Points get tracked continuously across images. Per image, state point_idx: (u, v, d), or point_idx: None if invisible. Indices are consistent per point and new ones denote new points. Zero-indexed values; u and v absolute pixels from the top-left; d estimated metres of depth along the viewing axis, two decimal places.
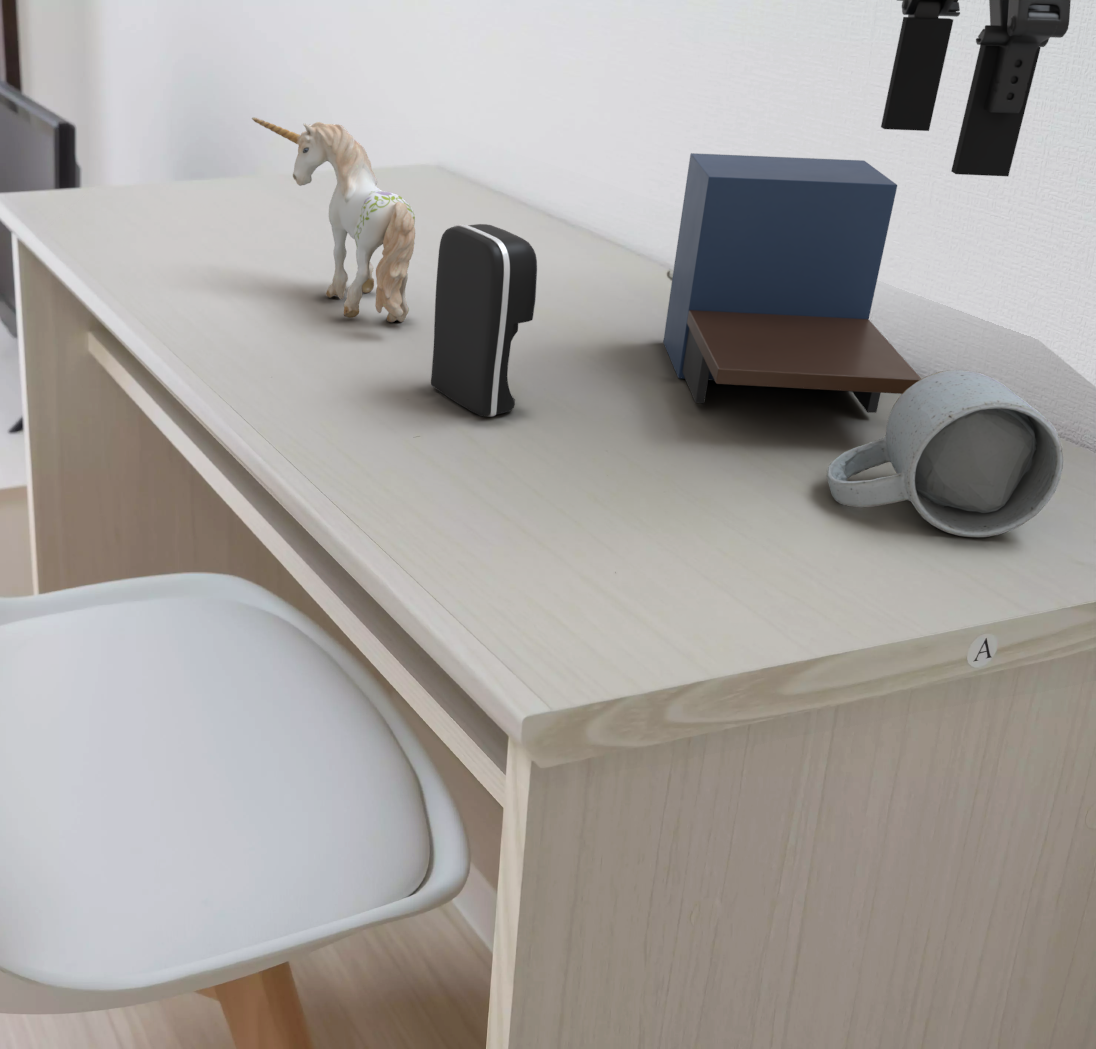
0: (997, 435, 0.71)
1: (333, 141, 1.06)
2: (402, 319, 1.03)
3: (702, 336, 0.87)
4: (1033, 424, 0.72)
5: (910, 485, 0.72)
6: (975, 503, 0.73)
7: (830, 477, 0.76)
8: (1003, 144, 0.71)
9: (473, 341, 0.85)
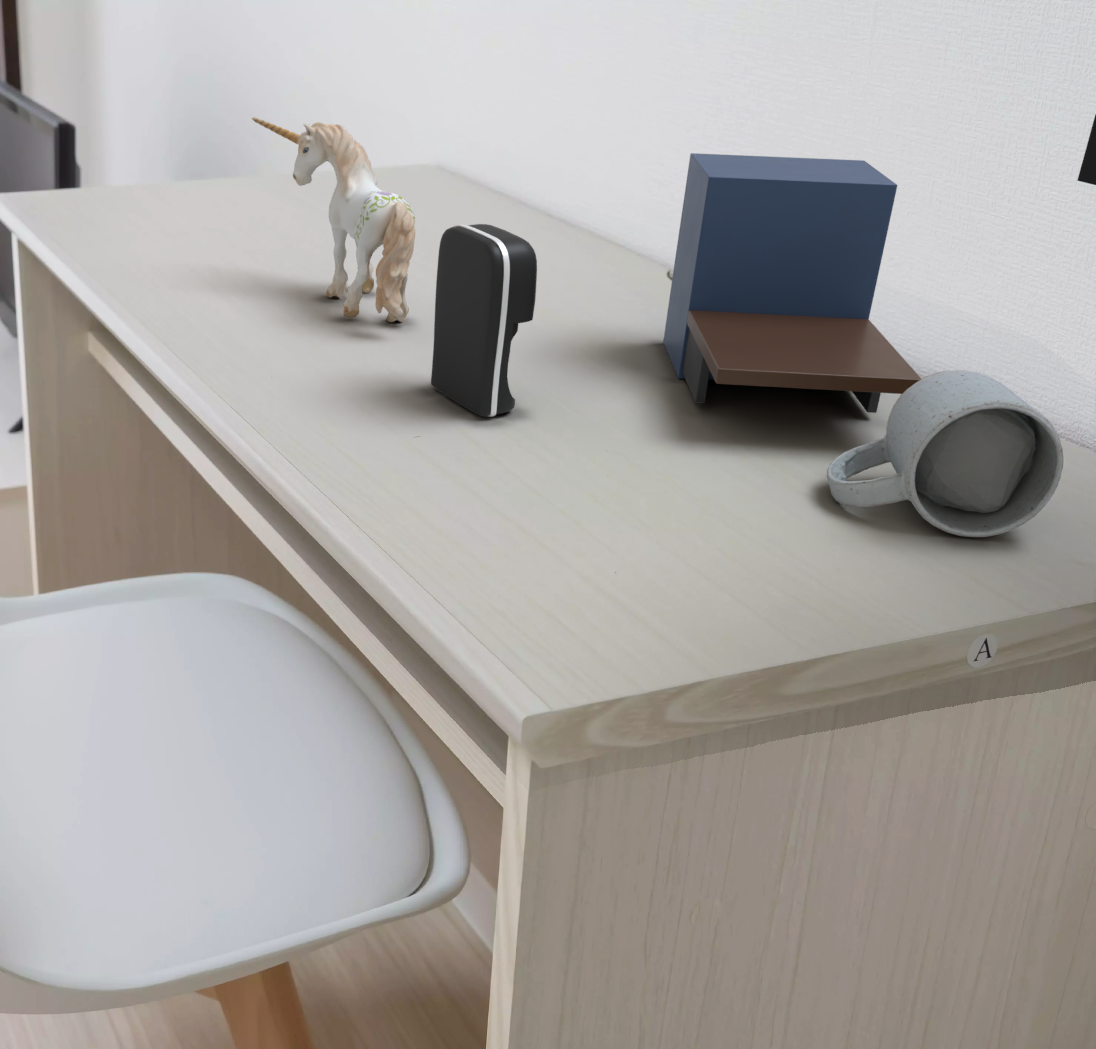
0: (997, 435, 0.71)
1: (333, 141, 1.06)
2: (402, 319, 1.03)
3: (702, 336, 0.87)
4: (1033, 424, 0.72)
5: (910, 485, 0.72)
6: (975, 503, 0.73)
7: (830, 477, 0.76)
8: None
9: (473, 341, 0.85)
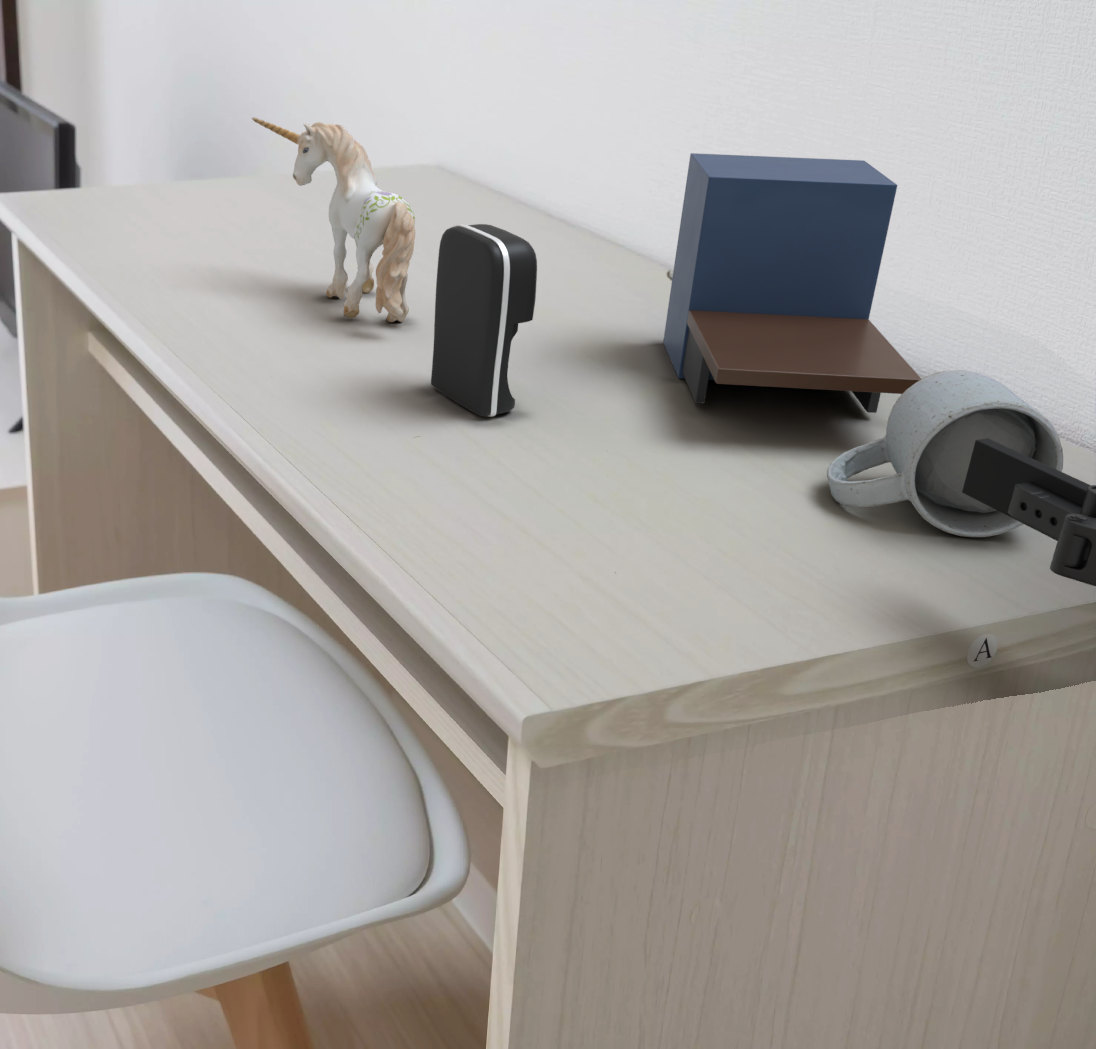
0: (997, 435, 0.71)
1: (333, 141, 1.06)
2: (402, 319, 1.03)
3: (702, 336, 0.87)
4: (1033, 424, 0.72)
5: (910, 485, 0.72)
6: (975, 503, 0.73)
7: (830, 477, 0.76)
8: None
9: (473, 341, 0.85)
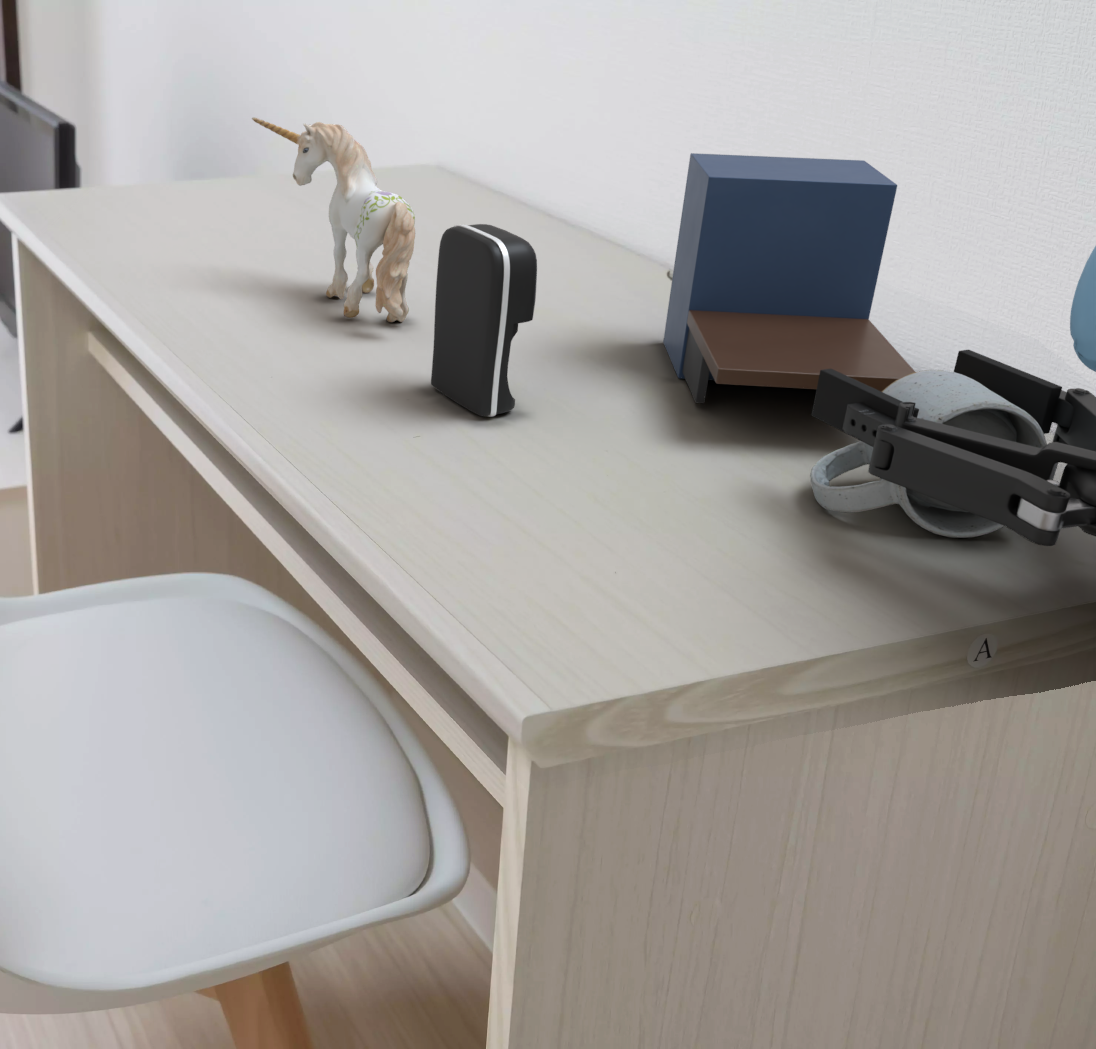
0: None
1: (333, 141, 1.06)
2: (402, 319, 1.03)
3: (702, 336, 0.87)
4: (1013, 422, 0.73)
5: (901, 489, 0.71)
6: None
7: (815, 483, 0.75)
8: None
9: (473, 341, 0.85)
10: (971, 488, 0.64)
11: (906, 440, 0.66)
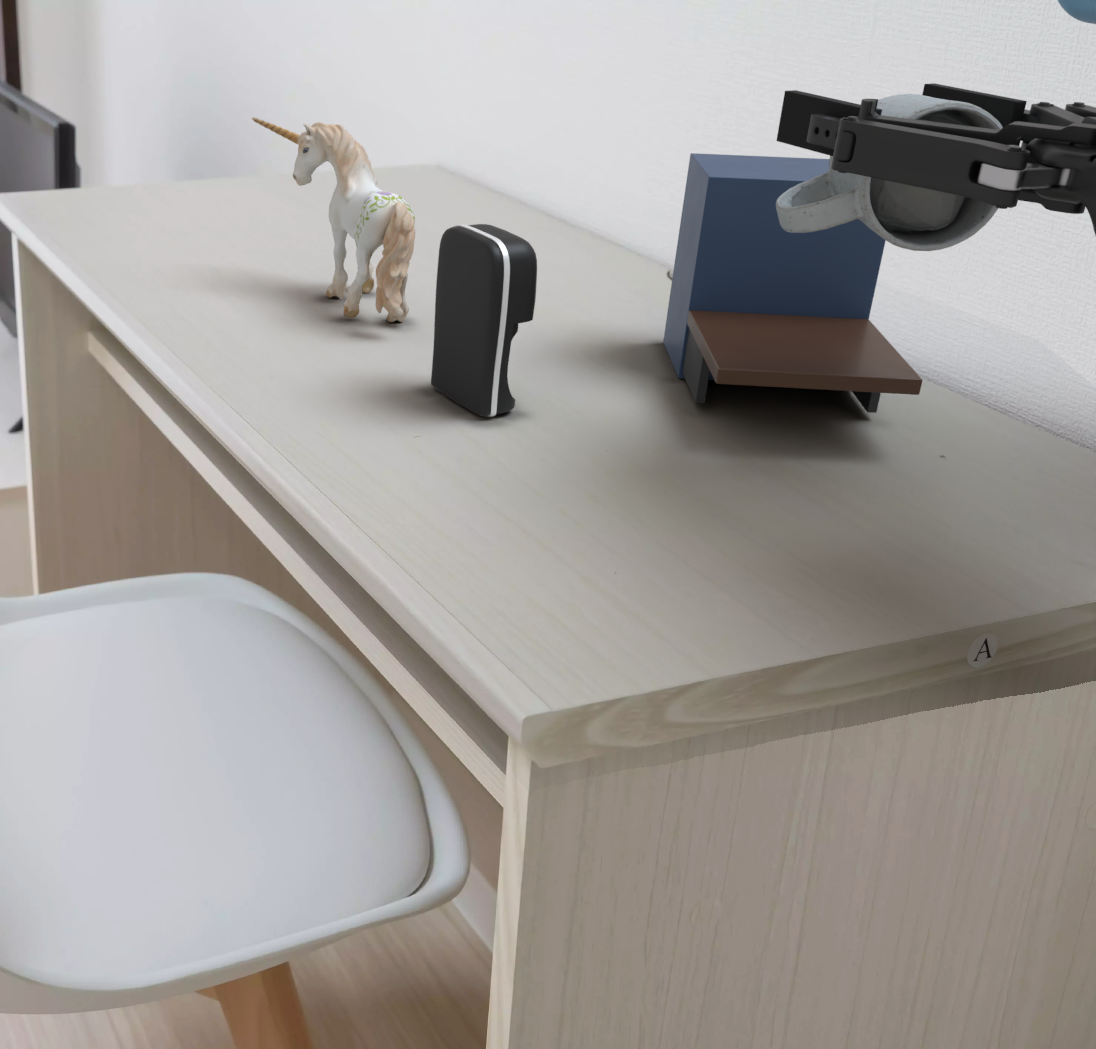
0: None
1: (333, 141, 1.06)
2: (402, 319, 1.03)
3: (702, 336, 0.87)
4: None
5: (865, 198, 0.71)
6: (926, 219, 0.73)
7: (781, 207, 0.75)
8: None
9: (473, 341, 0.85)
10: (932, 163, 0.64)
11: (868, 125, 0.66)
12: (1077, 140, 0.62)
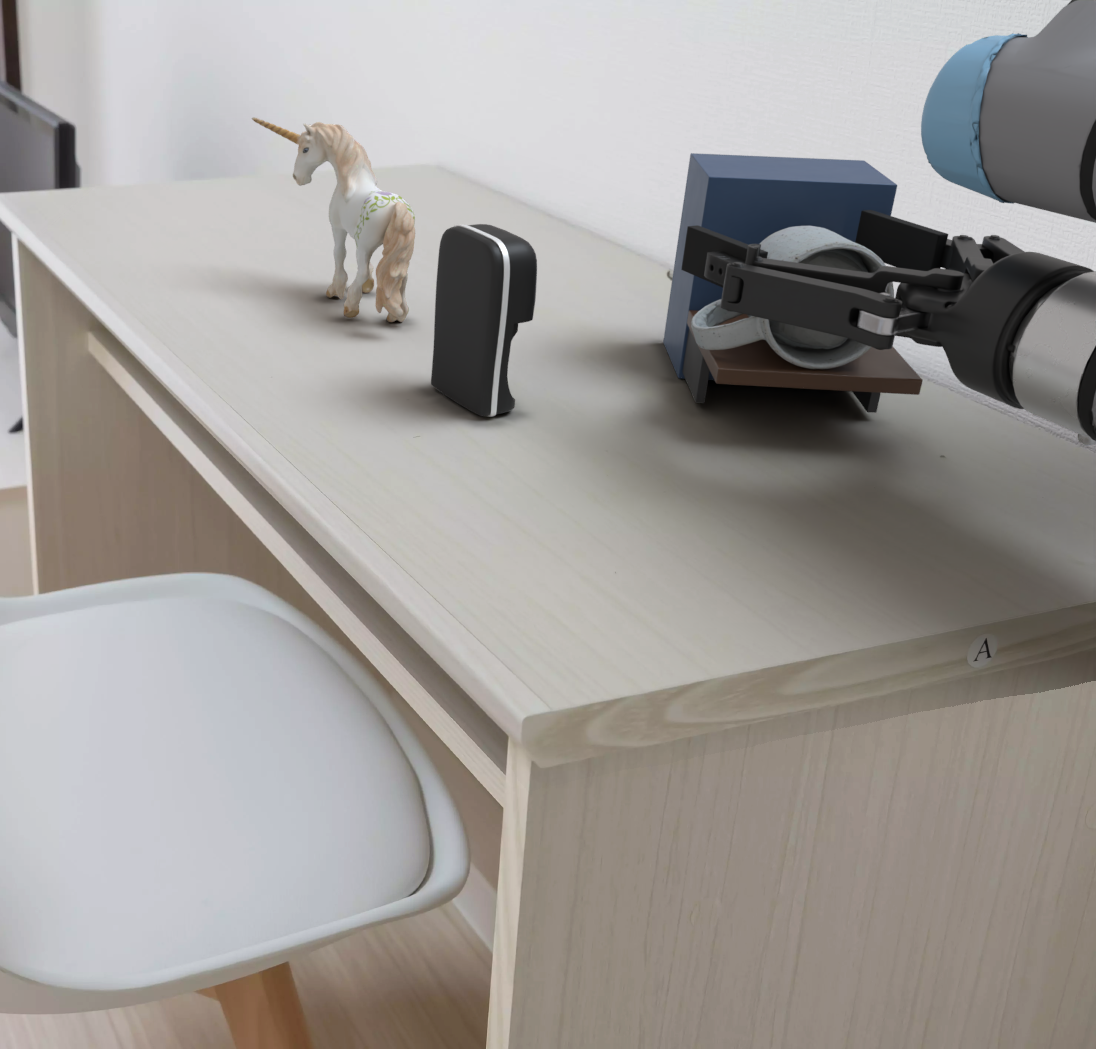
0: None
1: (333, 141, 1.06)
2: (402, 319, 1.03)
3: None
4: (867, 267, 0.82)
5: (765, 324, 0.80)
6: (821, 340, 0.82)
7: (694, 326, 0.84)
8: None
9: (473, 341, 0.85)
10: (815, 308, 0.72)
11: (754, 273, 0.73)
12: (938, 285, 0.71)
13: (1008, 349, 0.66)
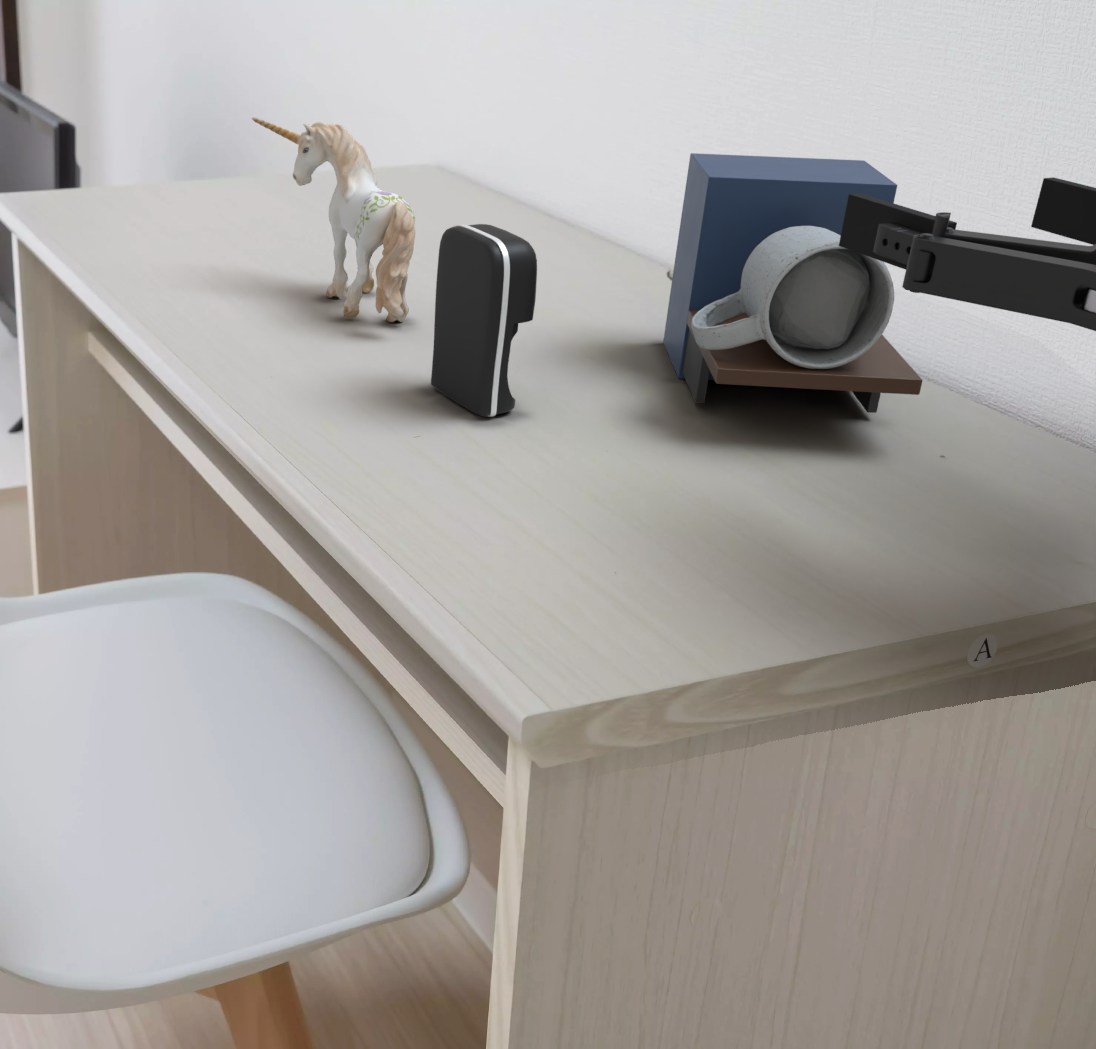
0: (837, 275, 0.80)
1: (333, 141, 1.06)
2: (402, 319, 1.03)
3: None
4: (867, 267, 0.82)
5: (765, 323, 0.80)
6: (821, 340, 0.82)
7: (694, 325, 0.84)
8: None
9: (473, 341, 0.85)
10: (1029, 287, 0.59)
11: (950, 246, 0.61)
12: None
13: None
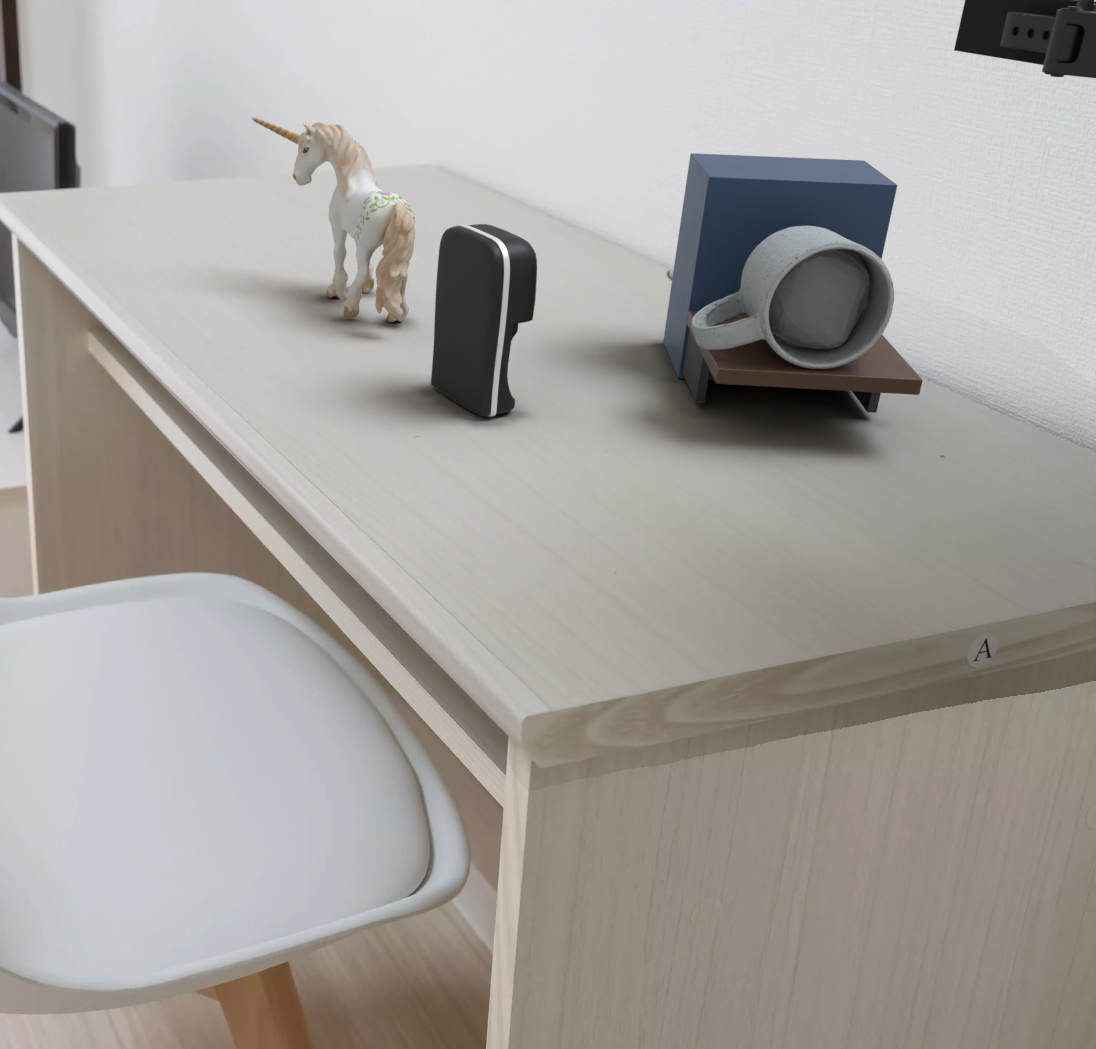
0: (837, 275, 0.80)
1: (333, 141, 1.06)
2: (402, 319, 1.03)
3: None
4: (867, 267, 0.82)
5: (765, 323, 0.80)
6: (821, 340, 0.82)
7: (694, 326, 0.84)
8: None
9: (473, 341, 0.85)
10: None
11: None
12: None
13: None
